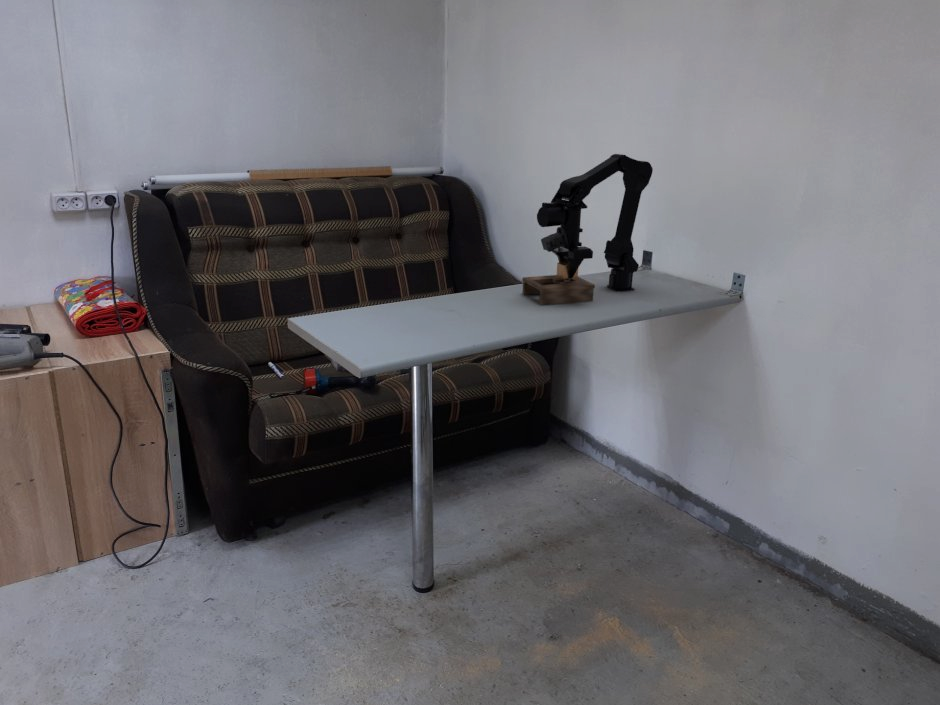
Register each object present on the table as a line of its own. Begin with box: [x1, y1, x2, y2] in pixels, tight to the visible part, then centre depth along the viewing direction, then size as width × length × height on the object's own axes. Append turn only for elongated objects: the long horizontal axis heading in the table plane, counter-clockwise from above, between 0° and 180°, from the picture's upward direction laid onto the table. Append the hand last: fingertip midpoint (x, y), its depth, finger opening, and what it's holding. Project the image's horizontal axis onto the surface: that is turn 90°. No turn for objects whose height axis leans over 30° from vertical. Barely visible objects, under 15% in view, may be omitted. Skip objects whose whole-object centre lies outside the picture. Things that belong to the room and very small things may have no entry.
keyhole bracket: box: [521, 274, 596, 306], centre depth 215 cm, size 17×14×5 cm
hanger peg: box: [556, 262, 579, 282], centre depth 215 cm, size 5×5×8 cm
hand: (567, 276), depth 215 cm, fingers closed on hanger peg, 4 cm apart
